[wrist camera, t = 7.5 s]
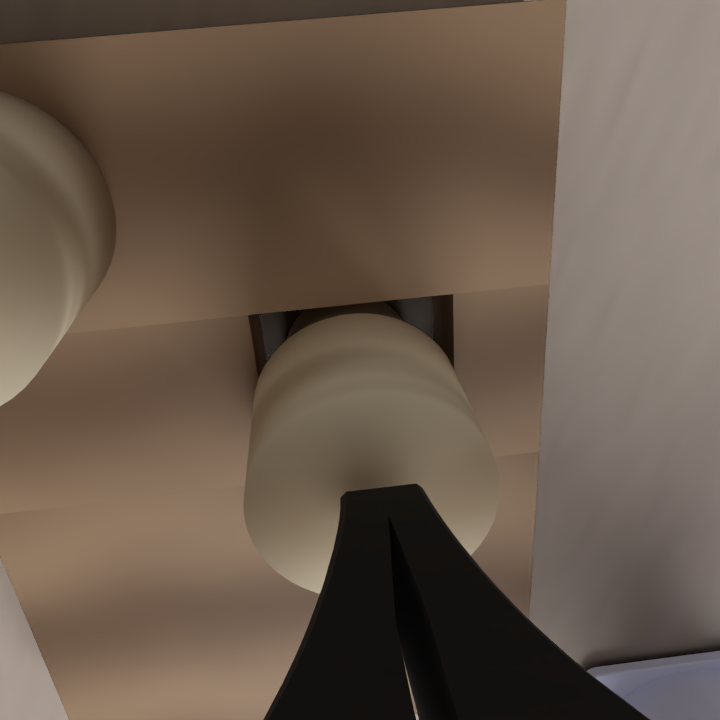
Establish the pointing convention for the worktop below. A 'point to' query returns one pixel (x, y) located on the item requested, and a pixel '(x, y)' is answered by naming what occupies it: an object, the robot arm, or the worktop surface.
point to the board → (246, 309)
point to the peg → (359, 435)
